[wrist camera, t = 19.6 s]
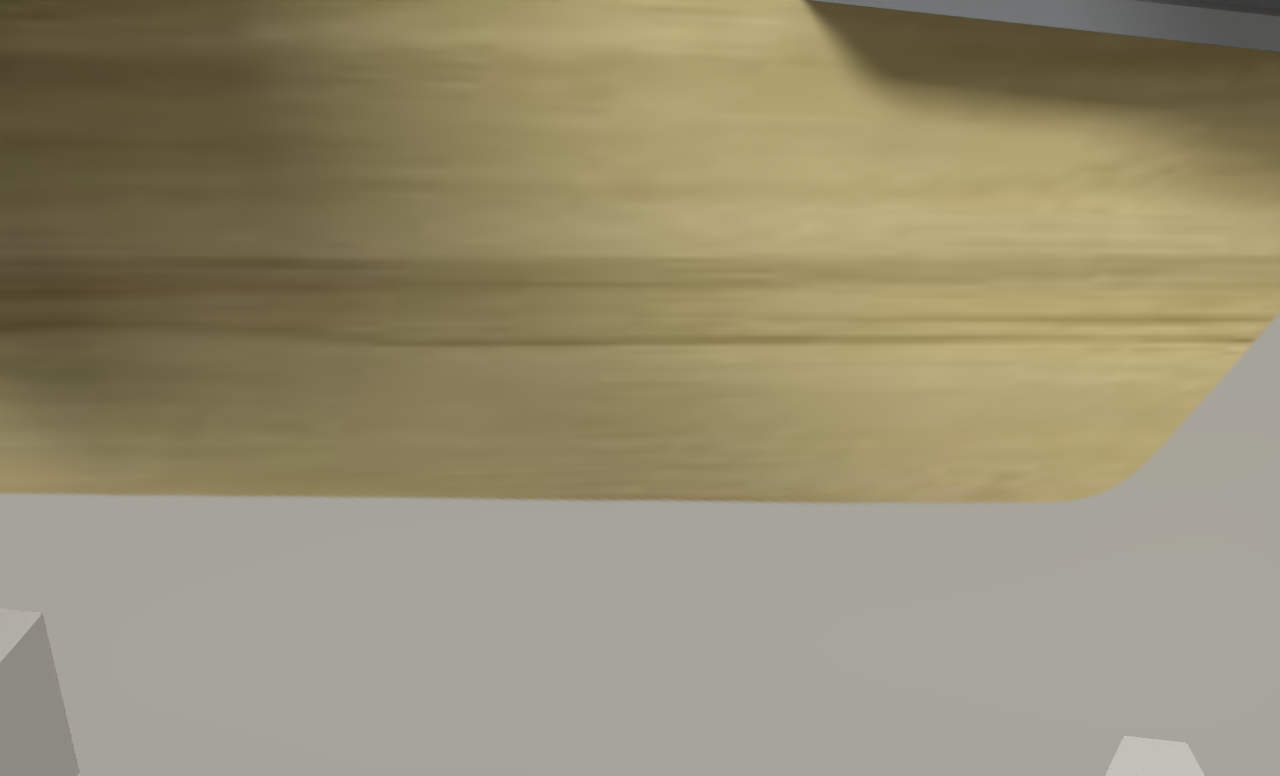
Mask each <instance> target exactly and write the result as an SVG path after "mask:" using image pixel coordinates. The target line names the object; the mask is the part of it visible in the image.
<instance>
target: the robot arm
mask: <svg viewBox="0 0 1280 776" xmlns="http://www.w3.org/2000/svg"><path fill="white" fill-rule="evenodd" d="M78 773H79V768H78V764H77V759H76V755H75V750H74V746H73V742H72V738H71V733H70V730H69V725H68V720H67V716H66V712H65V708H64V703H63V699H62V695H61V691H60V686H59V682H58V678H57V673H56V669H55V665H54V661H53V656H52V652H51V648H50V643H49V639H48V636H47V631H46V626H45V623H44V618H43V614H42V613H35V612H26V611H18V610H9V609H0V776H77V775H78ZM1105 776H1205V775H1204V774H1203V772H1202V770H1201V768H1200V766H1199V765H1198V763H1197V761H1196V759H1195V757H1194V755H1193V754H1192V752H1191V750H1190V748H1189V747H1188V745H1187V743H1184V742H1175V741H1166V740H1157V739H1147V738H1139V737H1131V736H1124V737H1123V739H1122V741H1121V744H1120V746H1119V748H1118V750H1117V752H1116V754H1115V756H1114V758H1113V760H1112V762H1111V764H1110V766H1109V768H1108V771H1107V773H1106V775H1105Z"/></svg>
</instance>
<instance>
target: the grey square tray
mask: <svg viewBox="0 0 1280 776" xmlns="http://www.w3.org/2000/svg"><path fill="white" fill-rule="evenodd" d="M813 1H822V2H831V3H840V4H849V5H858V6H867V7H876V8H885V9H894V10H903V11H912V12H922V13H931V14H940V15H949V16H958V17H967V18H976V19H985V20H994V21H1003V22H1012V23H1021V24H1030V25H1039V26H1048V27H1057V28H1067V29H1076V30H1085V31H1094V32H1103V33H1112V34H1121V35H1130V36H1139V37H1148V38H1157V39H1166V40H1175V41H1184V42H1193V43H1202V44H1212V45H1221V46H1230V47H1239V48H1248V49H1257V50H1266V51H1275V52H1280V0H813Z"/></svg>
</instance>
